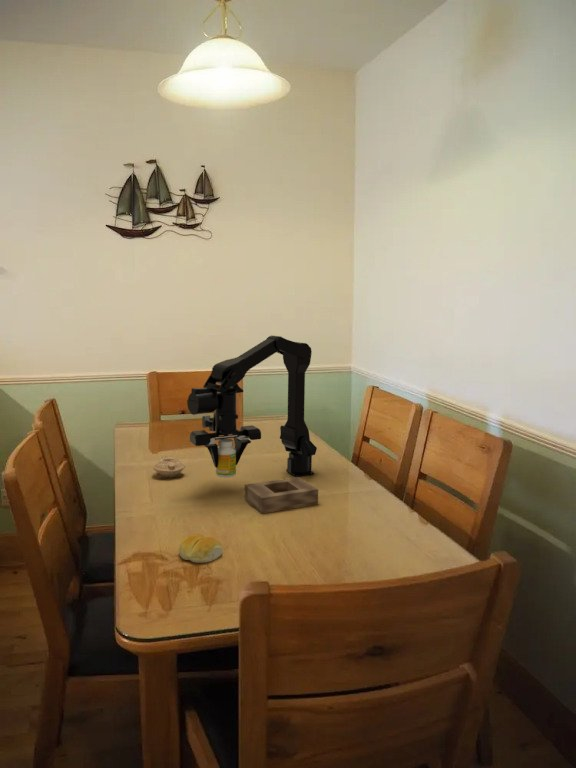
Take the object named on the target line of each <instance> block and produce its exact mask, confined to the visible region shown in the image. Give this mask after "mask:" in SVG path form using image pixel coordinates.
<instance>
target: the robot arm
mask: <svg viewBox="0 0 576 768" xmlns="http://www.w3.org/2000/svg"><path fill="white" fill-rule="evenodd" d="M276 353H277V354H280V355H282V360H283V364H284V366H285V368H286V370H287V374H288V375H287V420H286V422H285V423H284V425H280V428H279V431H280V436H279V439H280V440H281V444H282V445H283V446H284V449H285V452H288V458H287V462H286V465H287V466H286V467H287V468H286V469H285V471H286V472H287V473H289V474H291V475H292V476H294V477H304V476H307V475H308V476H310V475H314V474H315V472H314V471H312V464H313V463H312V462H313V461H312V460H313V456H315V455H316V453H317V449H318V448H317V446H316V445H315V444H314V443H313V442H312V441H311V438H310V437H311V436H310V430H309V428H308V425H307V423H306V422H305V401H306V400H305V394H306V393H305V392H306V391H305V390H306V389H305V388H306V372H307V370H308V368H309V367H310V365H311V359H312V353H313V352H312V347H311V346H309V344H308V343H306V342H299V341H298V342H297V341H292V340H290V339H286V338H284V337H282V336H280V335H269V336H268V337H266V339H264V340H262V341H261V342H260V343H258V344H256V345H254V346H253V347H252V348H249V349H248V350H247V351H245V352H243V353H242V354H240V355H238V356H237V357H233V358H229V359H225V360H222V361H220V362H218V363H214V365H213V366H212V367H211V373H210V374H209V376H208V378H207V379H206V381H205V383H204V384H203V387H200V388H199V387H192V388H191V392H190V394H189V395H188V398H187V401H186V402H187V403H186V404H187V409H188V412H190V414H191V415H193V416H194V415H201V414H203V415H202V417H201V418H202V419H201V422H202V423H201V424H202V428H203V429H207V428H208V430H209V432H208V431H207V430H203V429H202V430H194V431H193V430H192V431H191V432H190V434H189V442H191V444H193V445H194V446H196V447H201V446H202V447H203V446H204V447H205V448H207V450H208V452H209V455H210V457H211V460H212V463H213V465H214V467H215V469H216V468H217V466H218V448H219V445H218V444H217V443H216V441H217V440H218V441H219V440H220V439H233V443H234V448H235V450H236V466H237V465H238V464H239V462H240V459H241V457H242V456H243V453H244V451H245V449H246V448H247V446H248V445H249V444H251V443H252V441H255V440H261V439H262V431H261V430H260V428H258V427H257V426H254V425H252V424H251V425H242V426H241V427H240V429H237V420H238V419H239V414H237V394H242V393H244V389H243V388H241V387H240V386H239V383H240V382H241V381H242V380H243V379H244V378H245V376H246V374H247V372H248V371H250V370H251V369H252V368H254V367H257V365H259V364H260V363H263V361H265V360H267V359H268V358H270V357H271V356H273V355H274V354H276ZM208 413H213V415H212V416H213V417H211V415H204V414H208ZM210 432H211V433H210Z"/></svg>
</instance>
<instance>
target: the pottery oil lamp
mask: <svg viewBox="0 0 576 768" xmlns="http://www.w3.org/2000/svg"><path fill="white" fill-rule="evenodd" d="M185 468H186V464H185V463H184V462H183V461H182V460H180V459H179V458H174V457H171V456H169V455H168V456H162V457H161V459H160V460H159V461H157V463H155V464H154V465H153V467H152V469H153V470H154V471H155V472H156V473H158V474H159V475H161V476H162V477H166V478H173V477H176V476H177V475H178V474H180V473H181V472H182V471H184V469H185Z"/></svg>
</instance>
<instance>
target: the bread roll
mask: <svg viewBox="0 0 576 768" xmlns="http://www.w3.org/2000/svg"><path fill="white" fill-rule="evenodd" d="M178 552H179V557H180V558H182V559H183V560H184V561H185V560H186V561H190V562H192V563H196V564H197V563H198V564H200V563H201V564H202V563H203V564H204V563H205V564H206V563H210V562H212V561H214V560H216V559H218V558H220V556H222V554H223V545H222V543H221V542H220V540H218V539H216V538H215V537H212V536H205V535H203V534H200V533H198V534H197V533H196V534H191V535H188V536H187V537H184V538H183V539H182V541H181V542H180V544H179V547H178Z"/></svg>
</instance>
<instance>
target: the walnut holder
mask: <svg viewBox="0 0 576 768" xmlns="http://www.w3.org/2000/svg"><path fill="white" fill-rule="evenodd" d="M244 501H246V502H247V503H249V505H251V506H252V507H254V509H256V510H257V511H258V512H259V513H260V514H267V513H273V512H280V511H284V510H291V509H296V508H297V509H298V508H302V507H303V508H304V507H309V506H314V505H318V504H319V488H317V487H315V486H313V485H312V484H311V483H309V482H307V481H306V480H304V479H302V478H301V477H300V476H296V477H291V478H283V479H276V480H271V481H269V480H268V481H264V482H256V483H249V484H248V483H247V484H244Z"/></svg>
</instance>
